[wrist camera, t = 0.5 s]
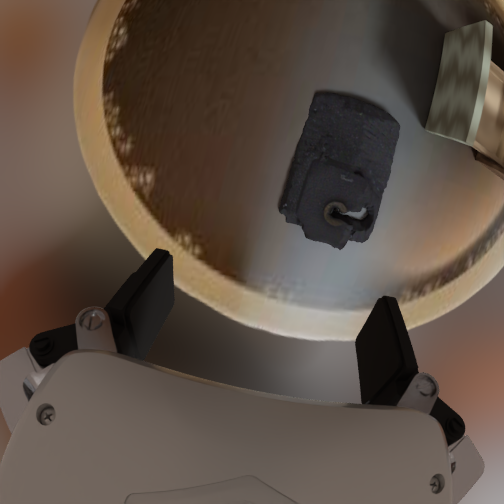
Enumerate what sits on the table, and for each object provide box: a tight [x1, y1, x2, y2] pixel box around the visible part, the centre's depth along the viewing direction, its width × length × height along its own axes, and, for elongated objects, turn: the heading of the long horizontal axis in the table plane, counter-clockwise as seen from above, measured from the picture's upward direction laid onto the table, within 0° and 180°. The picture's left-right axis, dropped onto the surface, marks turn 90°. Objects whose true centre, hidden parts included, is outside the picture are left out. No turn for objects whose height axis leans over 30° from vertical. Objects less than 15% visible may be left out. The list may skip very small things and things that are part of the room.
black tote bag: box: [279, 93, 400, 250], centre depth 35 cm, size 15×22×5 cm
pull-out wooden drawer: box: [425, 20, 504, 168], centre depth 20 cm, size 18×15×12 cm
